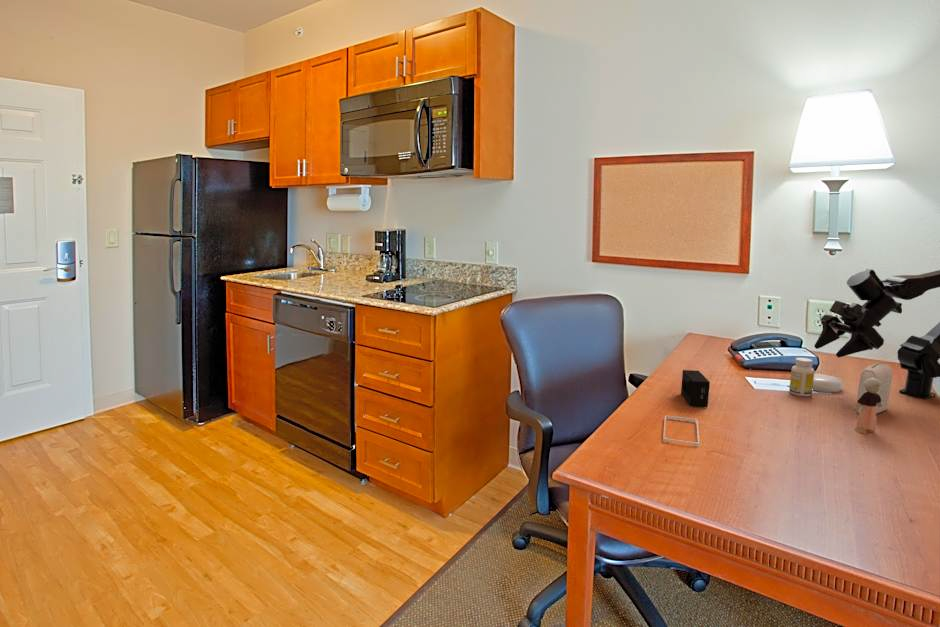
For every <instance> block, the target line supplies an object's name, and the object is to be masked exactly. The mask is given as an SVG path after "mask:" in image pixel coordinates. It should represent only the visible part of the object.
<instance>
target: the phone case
mask: <svg viewBox="0 0 940 627" xmlns="http://www.w3.org/2000/svg"><path fill="white" fill-rule="evenodd" d="M670 419H673V420H672V421H678V420H680V421H679V422H685V421H689V422H688V423H693V422H695V426H696V439H697V441H698V442H695V441H687V440H680V439H674V438H667V437H666V436H665V435H666V425H667V424H666V423H667V422H666V421H667V420H670ZM698 420H699V419H696V418H692V417H691V418H689V417H682V416H681V417H680V416H676V415H674V416H672V415H665V416H664V422H663V438H662V441H663V442H664V443H666V442H669V443H670V442H675V443H676V442H677V443H685V444H692V447H694V446H698V447H700V435H699V434H700V431H699V421H698Z"/></svg>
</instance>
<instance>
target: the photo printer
mask: <svg viewBox="0 0 940 627" xmlns="http://www.w3.org/2000/svg"><path fill="white" fill-rule="evenodd" d="M893 374H894V373H893V369H892V368H891V366H890V365H888V364H886V363H882V362H875V363H872V364H870V365H868V366H866V367H865V368H864V369H863V370H861V373H860V377H859V382H858V388H857V389H858V391H857V395H856V403H857V401H858V400H859V399H860V397H861V396H862V395H863V394H864V393H865V392H867V391H866V388H865V387H864V381H865V380H866V379H869V378H875V379H878V380H879V381H880V382H881V386H880V387H879V391H878V392H877V394H878V395H879V396H880V398H881V404H882V407H877V404H876V414H878V413H881V412H884V411H886V410H887V408H888V405H889V404H888V403H889V397H890V392H891V387H892V386H891V385H892V380H893ZM856 403H855V404H856ZM861 409H862V405H861V407H860V408H859V410H858V411H856V412H857V413H858V414H859V413H860V411H861Z"/></svg>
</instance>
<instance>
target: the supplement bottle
mask: <svg viewBox="0 0 940 627" xmlns="http://www.w3.org/2000/svg"><path fill="white" fill-rule="evenodd" d="M794 364H795V365H793V366H792V367H791V373H790V380H789V382H790V383H789V393H790V394H792V395H793V396H794V395H795V396H798V397H810V396H811V395H812V394H813V390H812V387H813V378H814V373H815V369H814V368H813V367H812V366H813V360H812V358H808V357H795V363H794Z"/></svg>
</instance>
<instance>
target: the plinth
mask: <svg viewBox="0 0 940 627" xmlns="http://www.w3.org/2000/svg"><path fill="white" fill-rule="evenodd" d="M842 386H843V379H841V378H839V377H837V376H834V375H833V376H832V375H829V374H823V373H815V372H814V378H813V387H812V389H813V390H812V391H816V390H817V392H821V391H823V393H839V392H842Z"/></svg>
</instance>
